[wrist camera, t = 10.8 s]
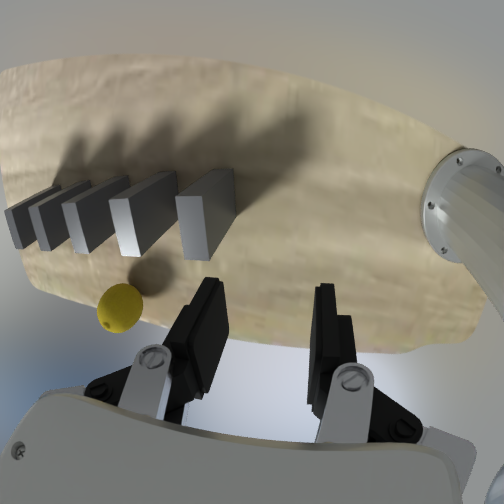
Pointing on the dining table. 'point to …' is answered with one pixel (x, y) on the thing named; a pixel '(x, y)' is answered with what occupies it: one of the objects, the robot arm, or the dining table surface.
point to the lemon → (120, 308)
